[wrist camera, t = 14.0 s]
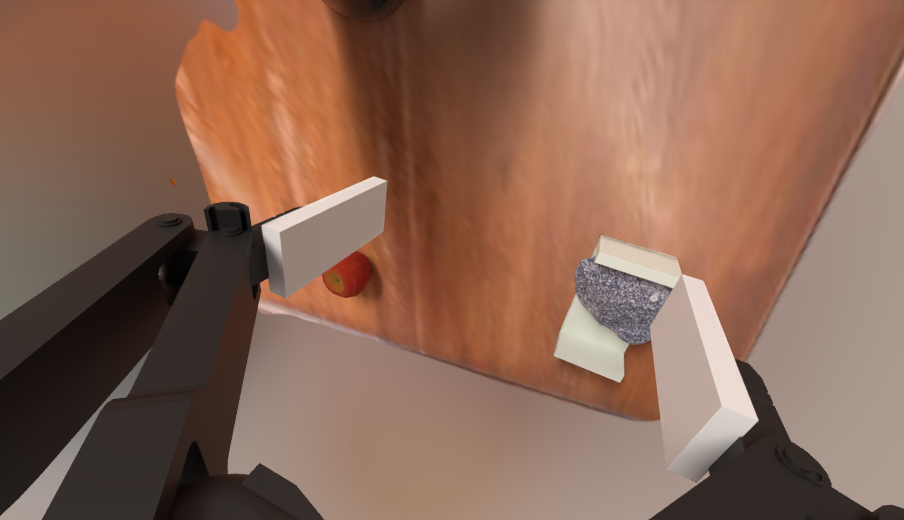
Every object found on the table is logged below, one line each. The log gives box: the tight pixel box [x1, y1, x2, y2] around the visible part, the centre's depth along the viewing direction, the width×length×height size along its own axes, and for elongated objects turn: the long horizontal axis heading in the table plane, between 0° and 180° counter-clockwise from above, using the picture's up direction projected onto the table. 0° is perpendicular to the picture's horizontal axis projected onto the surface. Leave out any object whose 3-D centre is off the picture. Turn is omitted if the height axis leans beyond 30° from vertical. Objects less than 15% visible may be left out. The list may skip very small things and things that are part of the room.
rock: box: [575, 256, 673, 345], centre depth 45 cm, size 12×5×10 cm
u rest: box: [554, 234, 682, 383], centre depth 47 cm, size 9×17×6 cm, turn 170°
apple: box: [322, 251, 371, 298], centre depth 61 cm, size 8×8×8 cm
